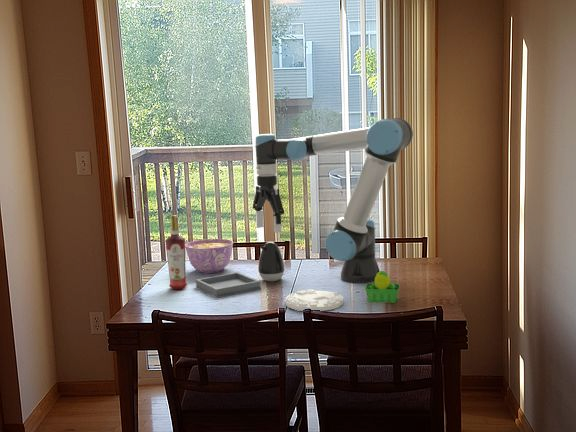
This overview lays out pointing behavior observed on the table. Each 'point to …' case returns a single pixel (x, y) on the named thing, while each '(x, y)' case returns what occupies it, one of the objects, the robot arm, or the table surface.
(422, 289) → the table surface
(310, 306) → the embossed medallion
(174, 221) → the liquor
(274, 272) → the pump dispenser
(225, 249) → the bowl of food
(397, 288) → the fruit basket
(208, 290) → the tray
